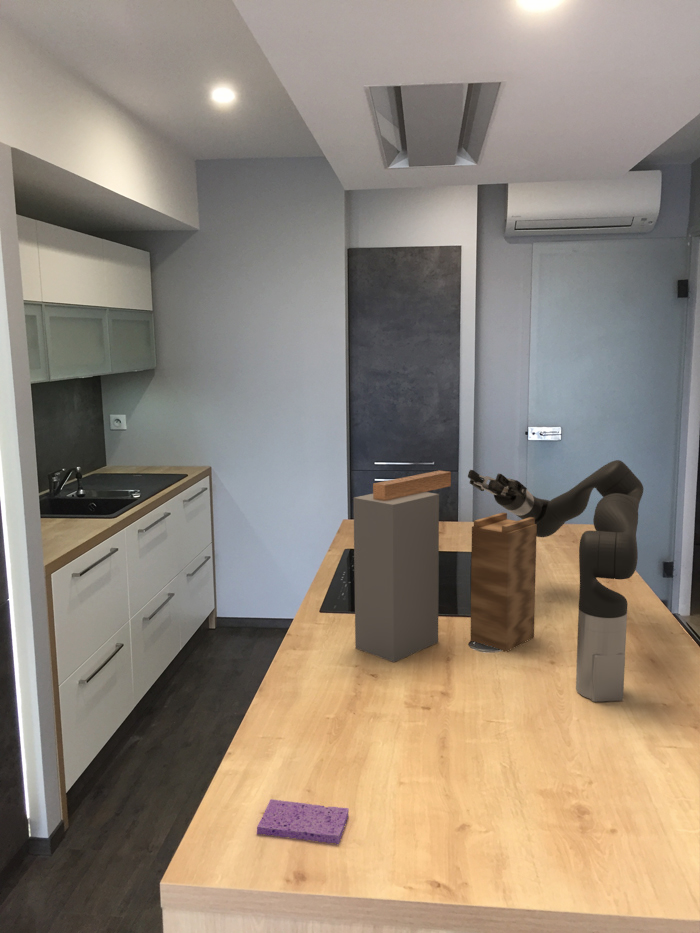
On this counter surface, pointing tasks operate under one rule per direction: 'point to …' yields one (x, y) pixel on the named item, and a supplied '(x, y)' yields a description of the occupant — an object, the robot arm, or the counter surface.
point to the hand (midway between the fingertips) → (483, 475)
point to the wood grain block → (503, 581)
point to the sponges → (303, 821)
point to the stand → (396, 574)
